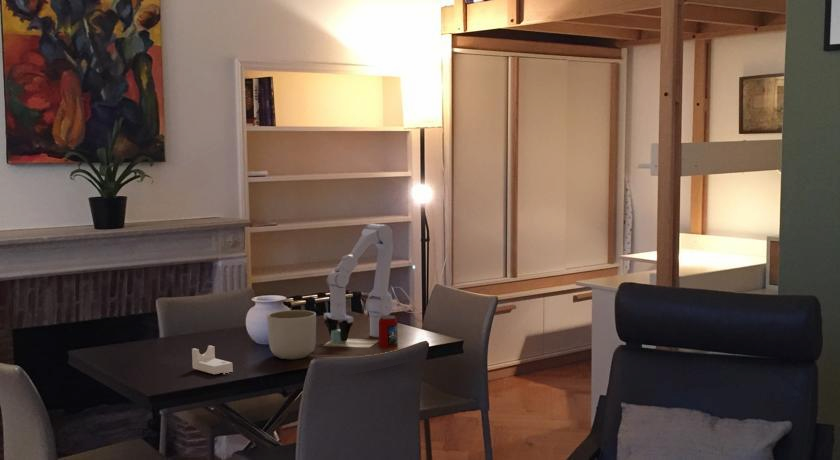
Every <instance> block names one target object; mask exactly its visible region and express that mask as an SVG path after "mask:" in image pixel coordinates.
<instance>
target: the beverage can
mask: <svg viewBox="0 0 840 460" xmlns="http://www.w3.org/2000/svg"><path fill="white" fill-rule="evenodd" d="M378 340H379V341H378V346H379V348H383V349H393V348H397V347H398V345H399V344H398V342H399V340H398V319H397V318H396V316H395V315H390V314H389V315H387V316H381V318H380V320H379V337H378Z"/></svg>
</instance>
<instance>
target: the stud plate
mask: <svg viewBox="0 0 840 460" xmlns="http://www.w3.org/2000/svg"><path fill="white" fill-rule="evenodd" d="M377 343H379V339H364V338H347V342H346V343H342V344H333V343H331V340H329V341H328V342H326V343H325V344H323V345H322V347H341V348H365V349H366V348H371V347H373V346H374V345H375V344H377Z"/></svg>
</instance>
